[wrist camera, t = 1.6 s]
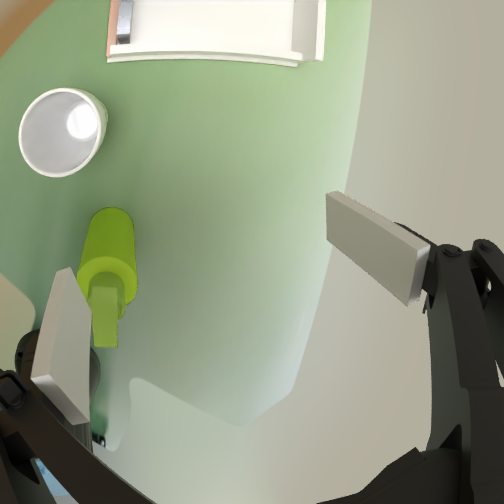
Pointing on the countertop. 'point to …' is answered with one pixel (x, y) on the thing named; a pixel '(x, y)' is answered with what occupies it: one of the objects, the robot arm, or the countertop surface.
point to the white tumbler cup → (62, 131)
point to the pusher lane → (221, 31)
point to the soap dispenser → (108, 272)
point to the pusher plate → (125, 21)
